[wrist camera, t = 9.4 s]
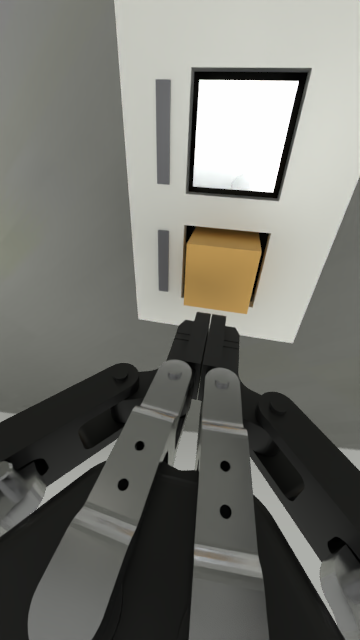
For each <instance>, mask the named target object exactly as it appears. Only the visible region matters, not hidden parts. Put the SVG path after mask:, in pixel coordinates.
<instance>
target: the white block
mask: <svg viewBox="0 0 360 640" xmlns="http://www.w3.org/2000/svg"><path fill="white" fill-rule="evenodd" d="M298 83H299V81H264V80H199V92H198V109H197V126H196V142H195V159H194V176H193V187H206V188H219V189H233V190H246V191H260V192H273V191H274V186H275V182H276V178H277V173H278V169H279V165H280V160H281V156H282V152H283V147H284V143H285V139H286V134H287V130H288V126H289V121H290V117H291V113H292V109H293V104H294V100H295V96H296V91H297V87H298Z"/></svg>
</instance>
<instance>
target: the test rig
mask: <svg viewBox="0 0 360 640" xmlns="http://www.w3.org/2000/svg"><path fill="white" fill-rule="evenodd" d="M114 3H115V17H116V30H117V43H118V56H119V70H120V83H121V96H122V109H123V123H124V136H125V149H126V162H127V175H128V189H129V202H130V215H131V228H132V242H133V255H134V268H135V281H136V295H137V308H138V319H141V320H147V321H154V322H160V323H167V324H173V325H180V324H181V323H182V322H183V321H184V320H191V321H194V320H195V317H196V313H197V312H203V313H209V314H211V317H212V314H216V315H223V316H226V324H225V326H229V327H235V328H236V329H237V331H238V333H239V335H243V336H249V337H256V338H262V339H269V340H275V341H281V342H288V343H293V341H294V339H295V336H296V334H297V331H298V329H299V326H300V324H301V321H302V319H303V316H304V314H305V311H306V309H307V306H308V304H309V301H310V299H311V296H312V294H313V291H314V289H315V286H316V284H317V281H318V279H319V276H320V274H321V271H322V269H323V266H324V264H325V261H326V259H327V256H328V254H329V251H330V249H331V246H332V244H333V241H334V239H335V236H336V234H337V231H338V229H339V226H340V224H341V221H342V219H343V216H344V214H345V212H346V209H347V207H348V204H349V202H350V199H351V197H352V194H353V192H354V189H355V187H356V184H357V182H358V179H359V177H360V0H114ZM194 72H308V75H307V79H306V83H305V87H304V92H303V96H302V100H301V104H300V108H299V112H298V116H297V120H296V124H295V129H294V133H293V137H292V141H291V145H290V149H289V153H288V157H287V161H286V165H285V170H284V174H283V178H282V182H281V186H280V190H279V194H278V198H265V197H252V196H239V195H226V194H213V193H200V192H188V188H189V169H190V149H191V129H192V110H193V90H194ZM187 225H189V226H199V227H210V228H220V229H230V230H240V231H251V232H261V233H269V235H268V239H267V243H266V248H265V252H264V256H263V260H262V264H261V268H260V272H259V276H258V280H257V285H256V289H255V293H254V294H252V295H251V299H250V303H249V307H248V312H247V314H241V313H234V312H228V311H221V310H214V309H207V308H200V307H193V306H186V305H184V287H185V285H184V267H185V247H186V228H187ZM210 323H211V318H210ZM209 328H210V326H209Z"/></svg>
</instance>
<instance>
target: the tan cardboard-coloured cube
mask: <svg viewBox="0 0 360 640" xmlns="http://www.w3.org/2000/svg"><path fill="white" fill-rule="evenodd" d="M261 252H262V251H261V244H260V238H259V232H251V231H240V230H230V229H220V228H210V227H199V226H196V228H195V230H194V232H193V233H192V235H191V237H190V239H189V241H188V242H187V250H186V268H185V287H184V305H186V306H193V307H200V308H207V309H214V310H221V311H228V312H234V313H241V314H247V312H248V307H249V303H250V299H251V295H252V290H253V286H254V282H255V278H256V274H257V269H258V265H259V261H260V257H261Z"/></svg>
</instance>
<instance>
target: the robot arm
mask: <svg viewBox="0 0 360 640" xmlns="http://www.w3.org/2000/svg"><path fill="white" fill-rule="evenodd" d="M210 318H211V323H210ZM225 324H226V316H223V315H216V314H212V317H211V314H209V313H203V312H197V313H196V317H195V320H194V321H191V320H184V321H183V322H182V323H181V324H180V325H179V327H178V330H177V333H176V336H175V339H174V341H173V344H172V347H171V350H170V352H169V355H168V358H167V361H166V362H164V363H163V364H161V366H160V367H159V368H158V369H156V370H153V371H145V372H138V370H137V369H136V368H135V367H134V366H133V365H131V364H127V363H119V364H115V365H113V366H111V367H109V368H107V369H105V370H103V371H101V372H99V373H97V374H95V375H93V376H91V377H89V378H87V379H85V380H83V381H81V382H79V383H77V384H75V385H73V386H71V387H69V388H67V389H65V390H64V391H62V392H60V393H58V394H56V395H54V396H52V397H50V398H48V399H46V400H44V401H42V402H40V403H38V404H36V405H34V406H32V407H30V408H28V409H26V410H24V411H22V412H20V413H18V414H16V415H14V416H12V417H10V418H8V419H6V420H4V421H2V422H1V423H0V640H360V471H359V470H358V469H357V468H356V467H355V466H354V465H353V464H352V463H351V462H350V460H348V458H347V457H346V456H345V455H344V454H343V453H342V452H341V451H340V450H339V449H338V448H337V447H336V446H335V445H334V444H333V443H332V442H331V441H330V440H329V439H328V438H327V437H326V436H325V435H324V434H323V433H322V431H321V430H320V429H319V428H318V427H317V426H316V425H315V424H314V423H313V422H312V421H311V420H310V419H309V418H308V417H307V416H306V415H305V414H304V413H303V412H302V411H301V410H300V409H299V408H298V407H297V406H296V405H295V404H294V403H293V401H292V400H290V399H289V398H288V397H287V396H285V395H283V394H281V393H277V392H267V393H264V394H263V395H260V394H258V393H256V392H254V391H252V390H250V389H248V388H247V387H246V386H244V385H243V383H242V382H241V381H240V379H239V376H238V363H239V333H238V331H237V329H236V328H235V327H229V326H225ZM209 326H210V328H209ZM200 378H201V380H200ZM199 383H200V388H199ZM198 389H199V395H198V400H201V401H202V403H201V409H200V416H199V428H198V440H197V452H196V463H195V470H191V471H181V470H177V469H176V468H174V467H173V465H174V460H175V456H176V452H177V449H178V445H179V442H180V438H181V435H182V432H183V429H184V425H185V422H186V419H187V415H188V411H189V409H190V405H191V400H192V399H195V400H196V399H197V394H198ZM117 438H118V439H117ZM116 439H117V442H116V443H115V445H114V448H113V449H112V451H111V453H110V455H109V457H108V459H107V461H104V462H102V463H100V464H98V465H96V466H94V467H93V468H91V469H90V470H88V471H87V472H86V473H84V474H83V475H82V476H80V477H79V478H78V479H76V480H75V481H74V482H72V483H71V484H70V485H68V486H67V487H66V488H64V489H63V490H62V491H60V492H59V493H58V494H56V495H55V496H54V497H52V498H51V499H50V500H48V501H47V502H46V503H45V504H43V505H42V506H41V507H39V508H38V509H37V507H38V505H39V504H40V502H41V501H42V499H43V497H44V494H45V490H46V487H47V486H48V485H50V484H52V483H53V482H54V481H56V480H57V479H59V478H60V477H62V476H63V475H65V474H66V473H68V472H69V471H71V470H72V469H73V468H75V467H76V466H78V465H79V464H81V463H82V462H84V461H85V460H87V459H88V458H90V457H91V456H93V455H94V454H95V453H97V452H98V451H100V450H101V449H103V448H104V447H106V446H107V445H109V444H110V443H112V442H113V441H115V440H116ZM250 457H251V459H252V460H253V461H254V463H255V464H256V466H257V467H258V469H259V470H260V472H261V473H262V475H263V476H264V478H265V479H266V481H267V482H268V483H269V485H270V487H271V488H272V489H273V491H274V492H275V494H276V495H277V497H278V498H279V500H280V501H281V503H282V504H283V506H284V507H285V509H286V510H287V512H288V513H289V514H290V516H291V518H292V519H293V521H294V522H295V523H296V525H297V526H298V528H299V529H300V531H301V532H302V534H303V535H304V537H305V538H306V540H307V541H308V543H309V544H310V546H311V547H312V548H313V550H314V552H315V553H316V554H317V556H318V557H319V559H320V560H321V562H322V564H321V567H320V581H321V586H322V590H323V593H324V595H325V597H326V599H327V601H328V603H329V605H330V607H331V609H332V611H333V614H334V616H335V619H336V622H337V625H336V623H335V621H334V620H333V618H332V616H331V615H330V613H329V611H328V610H327V608H326V606H325V604H324V603H323V601H322V600H321V598H320V596H319V594H318V593H317V591H316V589H315V588H314V586H313V584H312V583H311V581H310V579H309V578H308V576H307V574H306V573H305V571H304V569H303V567H302V566H301V564H300V562H299V561H298V559H297V558H296V556H295V554H294V552H293V551H292V549H291V547H290V546H289V544H288V542H287V541H286V539H285V537H284V535H283V534H282V532H281V530H280V529H279V527H278V526H277V524H276V522H275V520H274V519H273V517H272V515H271V514H270V513H269V511H268V510H267V509H266V507H265V506H264V505H263V504H262V503H261V502H260V501H259V500H258V499H257V498H256V497H255V496H254V495H253V490H252V478H251V467H250ZM36 509H37V510H36ZM33 511H34V512H33ZM32 512H33V513H32ZM30 513H31V514H30ZM28 515H29V516H28Z"/></svg>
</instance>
